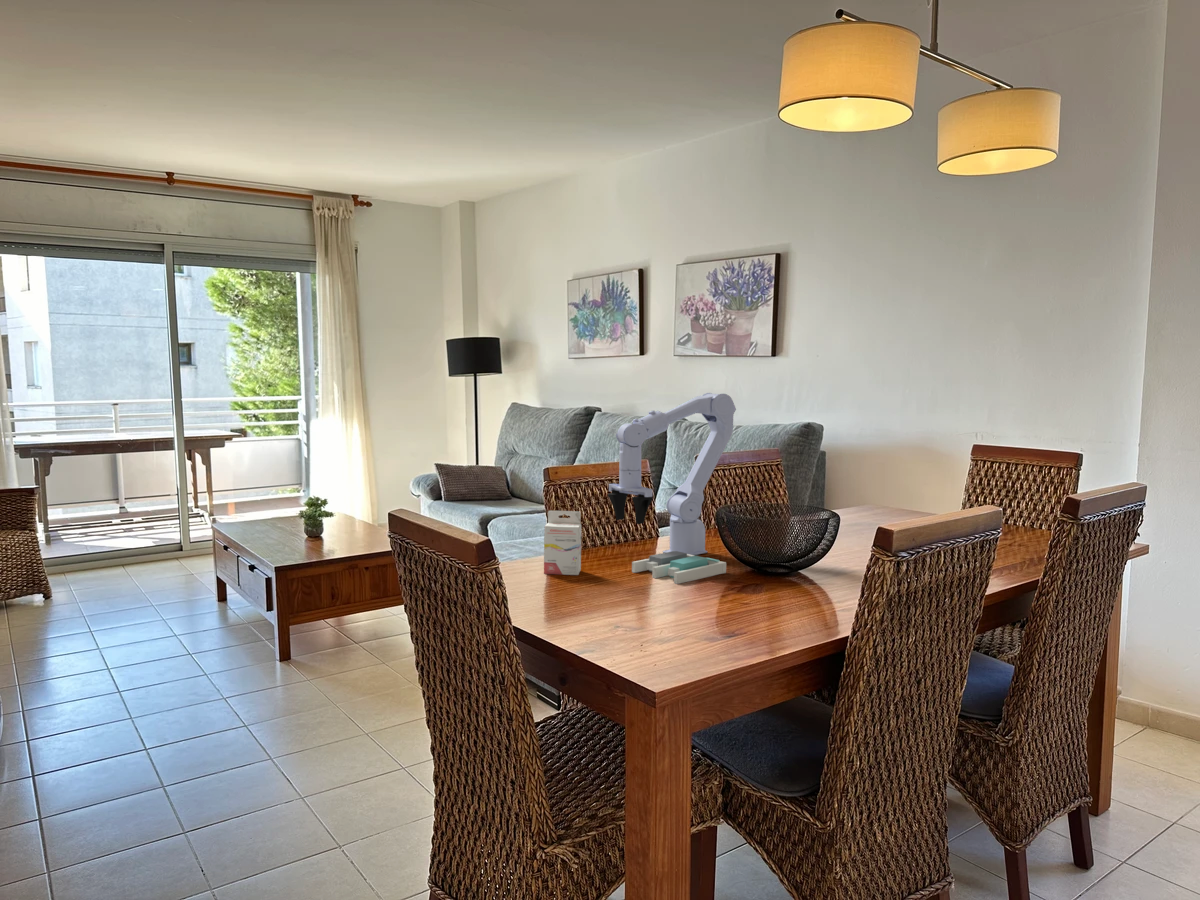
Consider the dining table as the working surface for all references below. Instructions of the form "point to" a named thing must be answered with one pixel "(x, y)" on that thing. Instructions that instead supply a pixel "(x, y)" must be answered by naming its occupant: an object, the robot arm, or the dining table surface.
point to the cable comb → (685, 575)
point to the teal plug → (686, 564)
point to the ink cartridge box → (562, 543)
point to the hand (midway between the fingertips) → (629, 521)
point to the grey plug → (664, 559)
